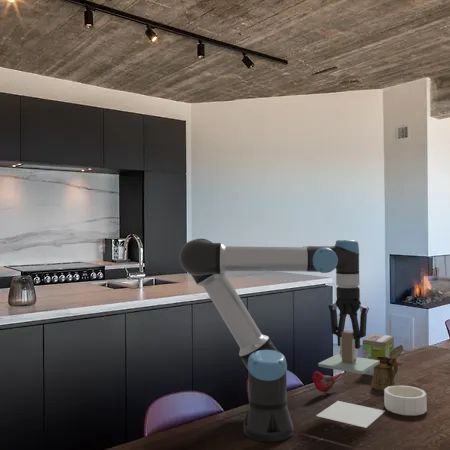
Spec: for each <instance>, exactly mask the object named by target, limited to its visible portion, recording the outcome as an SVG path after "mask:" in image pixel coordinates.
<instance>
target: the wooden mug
mask: <svg viewBox="0 0 450 450" xmlns="http://www.w3.org/2000/svg"><path fill="white" fill-rule="evenodd" d="M403 351H404V346H403V345H402V344H400V345H398V346H397V347H394V350H393V351H392V352H391V353H390V355H389V356H390V358H389V357H385V356H378V357H375V360H380V364H378V365H376V366H375V367H374V372H373V376H372V381H371V384H370V385H371V388H372V389H374V390H378V391H384V389H385V388H387V387H389V386H395V385H397V383H396V380H395V378H396V375H397V374H398V370H399V366H398V361H397V358H398V357H399V356H400V355H402V353H403ZM393 368H394V369H393Z"/></svg>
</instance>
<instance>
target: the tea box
mask: <svg viewBox="0 0 450 450" xmlns="http://www.w3.org/2000/svg"><path fill="white" fill-rule="evenodd" d="M394 339H395V337H394V336H393V335H385V334H376V333H371V334H369V335H368V336H365V337H364V338H362V358H367V359H373V360H375V357H378V356H385V357H389V358H390V356H389V355H390V353H391V352H392V351H393V350H394V349H395V347H394V345H395V340H394ZM393 370H394V368H393ZM373 372H374V367H373V368H372V369H370V370H368V371H367V372H365V373H364V374H363V375H365V376H366V375H367V376H372V377H373Z"/></svg>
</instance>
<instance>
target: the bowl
mask: <svg viewBox="0 0 450 450" xmlns="http://www.w3.org/2000/svg"><path fill="white" fill-rule="evenodd" d="M383 393H384V394H383V396H384V397H383V401H384V402H383V403H384V405H383V406H384V407H385V409H386V410H387V411H389V412H392V413H394V414H397V415H401V416H415V417H416V416H420V415H424V414H426V412H427V411H428V408H427V407H428V405H427V404H428V401H427V392H426V391H425V390H424V389H422V388H418V387H415V386H409V385H399V384H398V385H397V384H396V385H395V386H389V387H387V388H385V389H384V390H383Z"/></svg>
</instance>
